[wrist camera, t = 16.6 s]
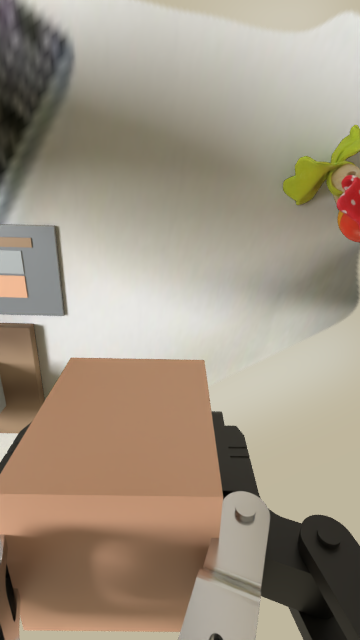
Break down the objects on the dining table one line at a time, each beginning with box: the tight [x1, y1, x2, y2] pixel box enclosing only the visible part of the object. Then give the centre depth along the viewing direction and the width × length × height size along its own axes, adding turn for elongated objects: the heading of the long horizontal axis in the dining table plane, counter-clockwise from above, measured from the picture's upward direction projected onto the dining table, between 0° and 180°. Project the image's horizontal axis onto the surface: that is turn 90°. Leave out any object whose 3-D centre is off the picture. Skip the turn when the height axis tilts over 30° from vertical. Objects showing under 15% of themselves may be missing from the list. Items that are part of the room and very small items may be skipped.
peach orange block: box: [0, 358, 223, 632], centre depth 11 cm, size 5×5×6 cm
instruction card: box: [0, 224, 64, 316], centre depth 30 cm, size 8×10×1 cm
